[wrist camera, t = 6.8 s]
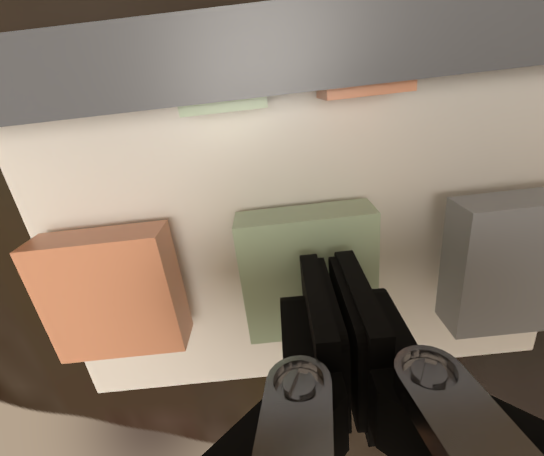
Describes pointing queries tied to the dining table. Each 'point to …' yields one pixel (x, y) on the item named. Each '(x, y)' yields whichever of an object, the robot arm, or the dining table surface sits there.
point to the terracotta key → (107, 291)
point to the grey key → (492, 264)
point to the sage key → (297, 253)
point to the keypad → (274, 142)
